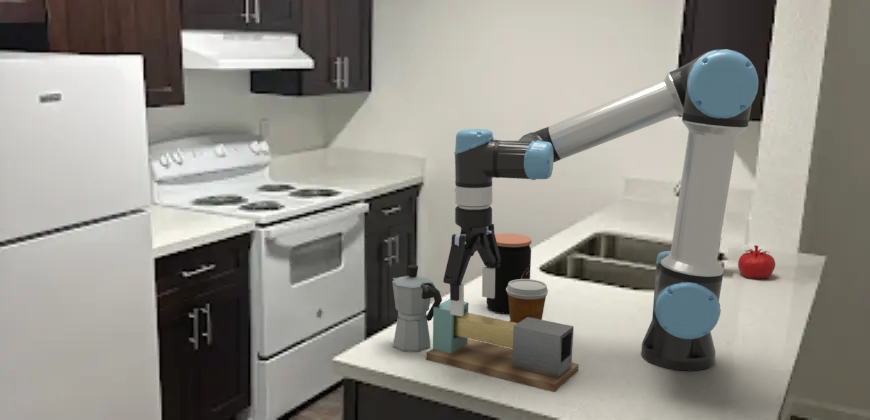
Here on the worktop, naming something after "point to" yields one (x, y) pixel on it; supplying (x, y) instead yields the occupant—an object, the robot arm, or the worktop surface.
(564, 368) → the sleeve
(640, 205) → the worktop surface
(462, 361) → the board
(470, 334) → the wooden crossbeam
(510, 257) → the coffee jar
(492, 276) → the robot arm
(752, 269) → the pomegranate
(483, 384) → the worktop surface
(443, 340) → the socket
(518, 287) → the disposable coffee cup
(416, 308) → the coffee maker
